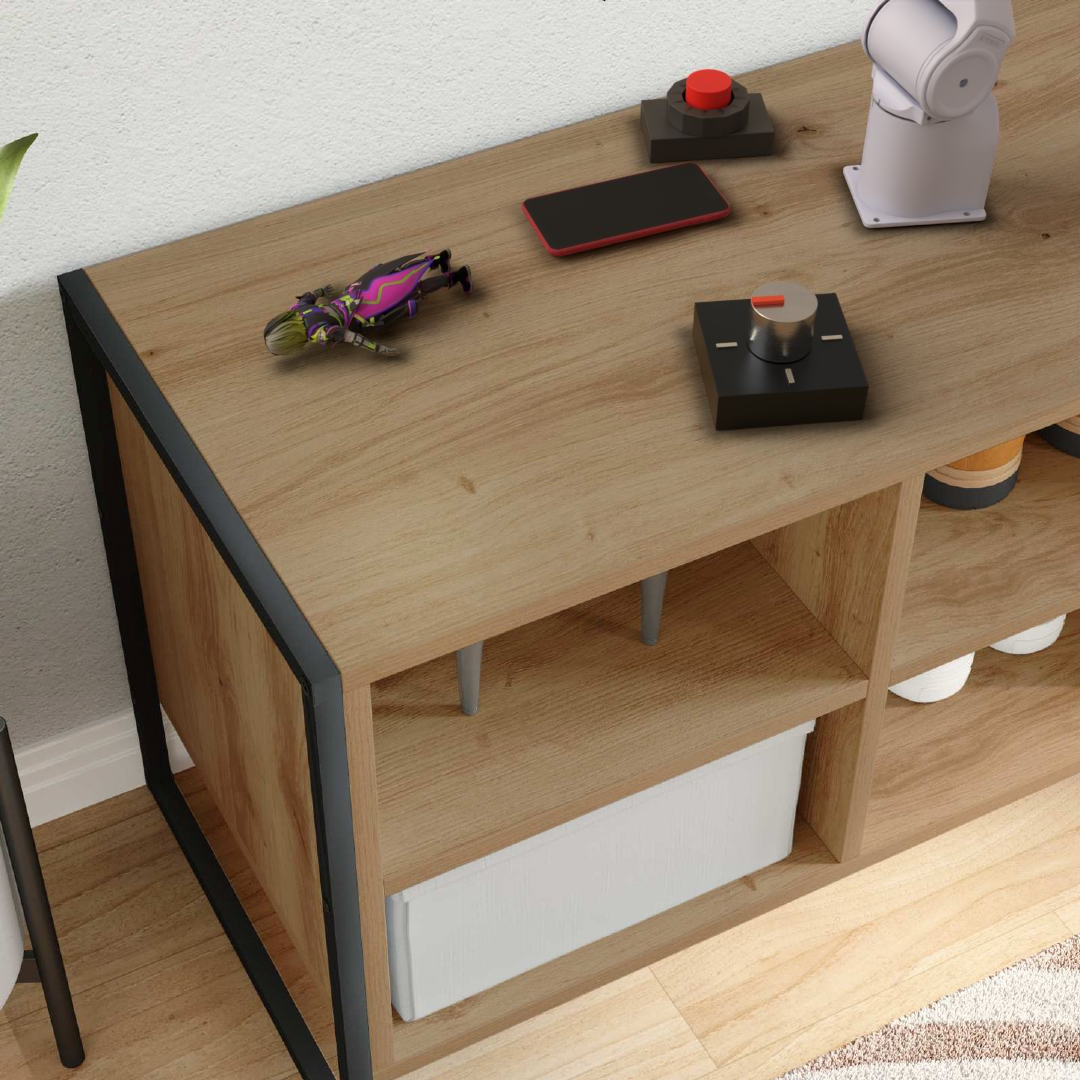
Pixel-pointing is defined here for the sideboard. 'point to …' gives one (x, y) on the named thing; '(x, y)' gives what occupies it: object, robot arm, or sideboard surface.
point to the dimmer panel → (777, 370)
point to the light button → (708, 89)
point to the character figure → (363, 305)
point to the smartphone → (625, 208)
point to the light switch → (706, 127)
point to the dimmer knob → (781, 321)
